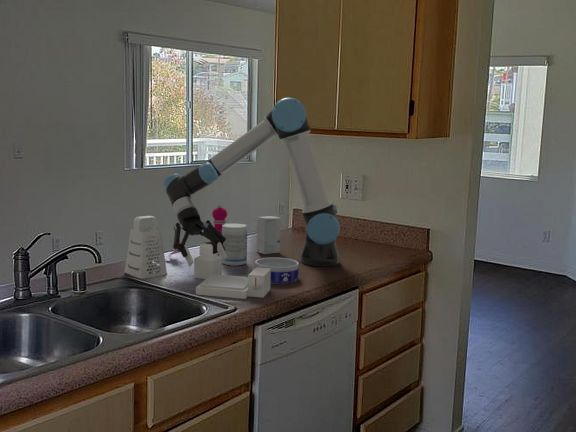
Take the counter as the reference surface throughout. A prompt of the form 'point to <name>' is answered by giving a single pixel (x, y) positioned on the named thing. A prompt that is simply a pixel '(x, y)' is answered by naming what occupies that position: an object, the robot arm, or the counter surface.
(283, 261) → the dog bowl
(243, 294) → the kitchen scale
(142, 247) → the grater
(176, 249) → the lily
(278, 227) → the skincare box
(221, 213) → the pepper mill
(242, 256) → the supplement tub
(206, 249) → the medicine bottle
